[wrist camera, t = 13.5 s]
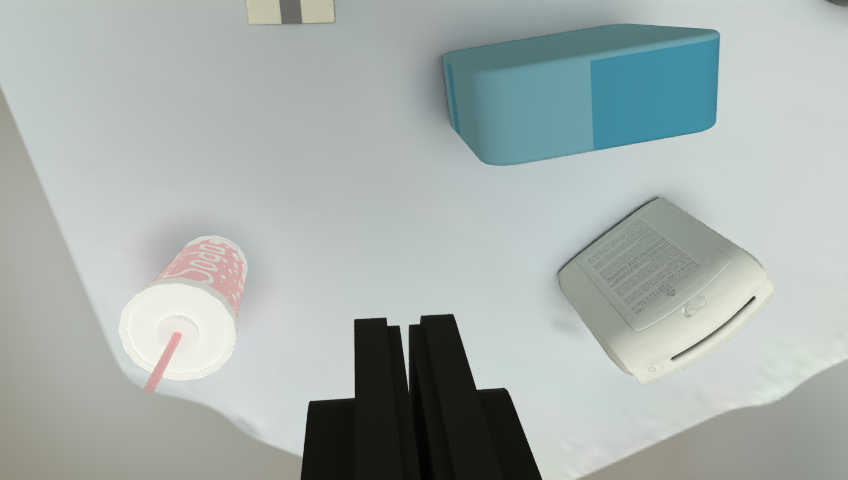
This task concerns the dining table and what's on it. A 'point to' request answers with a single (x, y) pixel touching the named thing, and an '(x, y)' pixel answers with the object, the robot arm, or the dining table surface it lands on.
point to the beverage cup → (187, 313)
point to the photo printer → (664, 291)
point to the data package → (582, 91)
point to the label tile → (289, 11)
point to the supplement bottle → (841, 2)
